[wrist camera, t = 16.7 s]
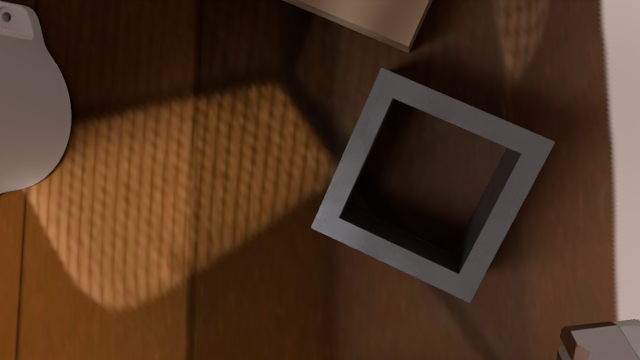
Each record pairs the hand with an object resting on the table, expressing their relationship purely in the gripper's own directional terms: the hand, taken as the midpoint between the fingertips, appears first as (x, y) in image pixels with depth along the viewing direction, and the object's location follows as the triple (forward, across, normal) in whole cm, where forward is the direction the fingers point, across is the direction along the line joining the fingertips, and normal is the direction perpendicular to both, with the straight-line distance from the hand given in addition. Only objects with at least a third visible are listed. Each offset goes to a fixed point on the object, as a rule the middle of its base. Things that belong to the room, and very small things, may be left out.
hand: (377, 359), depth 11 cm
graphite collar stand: (+24, -5, +12) cm, 28 cm away
